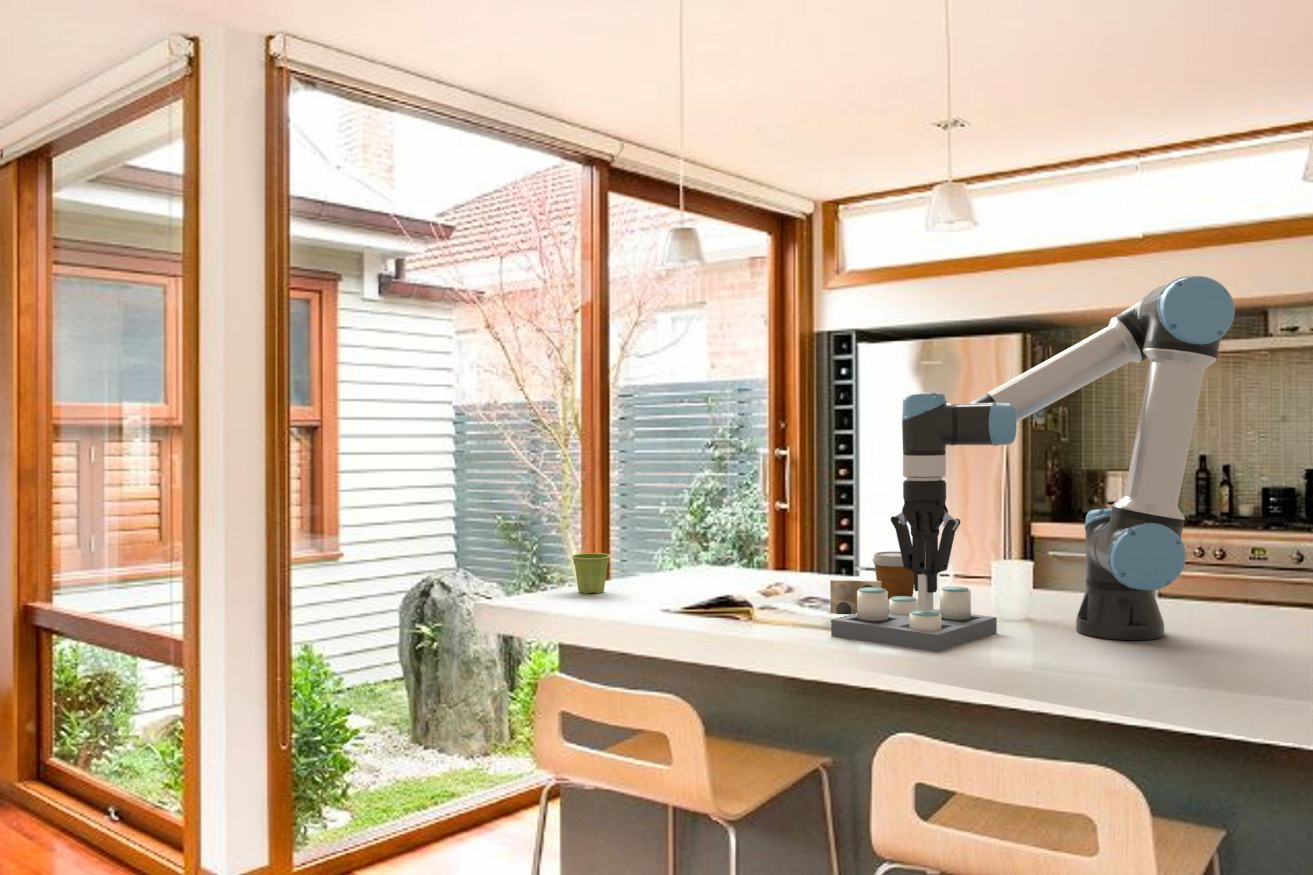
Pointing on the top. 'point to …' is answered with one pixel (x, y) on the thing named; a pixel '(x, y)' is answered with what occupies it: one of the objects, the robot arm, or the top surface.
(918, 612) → the button
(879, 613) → the button
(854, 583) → the card
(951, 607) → the button
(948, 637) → the board
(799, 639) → the top surface
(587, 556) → the plant pot
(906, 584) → the disposable coffee cup
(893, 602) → the button
